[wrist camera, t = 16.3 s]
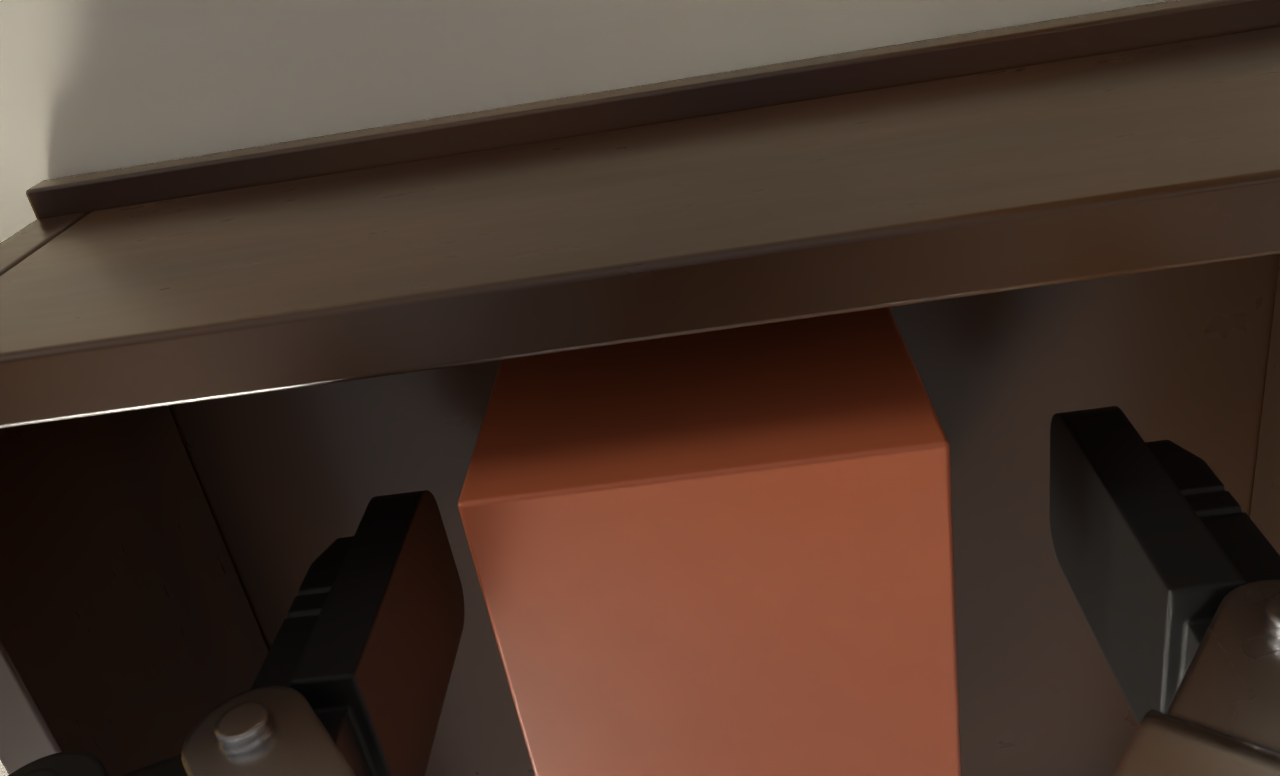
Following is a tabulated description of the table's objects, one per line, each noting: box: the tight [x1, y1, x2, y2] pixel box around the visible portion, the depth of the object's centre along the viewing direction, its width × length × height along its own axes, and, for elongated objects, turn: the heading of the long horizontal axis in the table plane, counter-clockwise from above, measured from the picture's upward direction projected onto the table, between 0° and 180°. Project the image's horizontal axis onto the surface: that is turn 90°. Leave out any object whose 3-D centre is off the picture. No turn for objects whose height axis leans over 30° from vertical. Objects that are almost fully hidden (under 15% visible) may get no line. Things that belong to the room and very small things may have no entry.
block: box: [458, 307, 961, 776], centre depth 14 cm, size 5×5×5 cm
